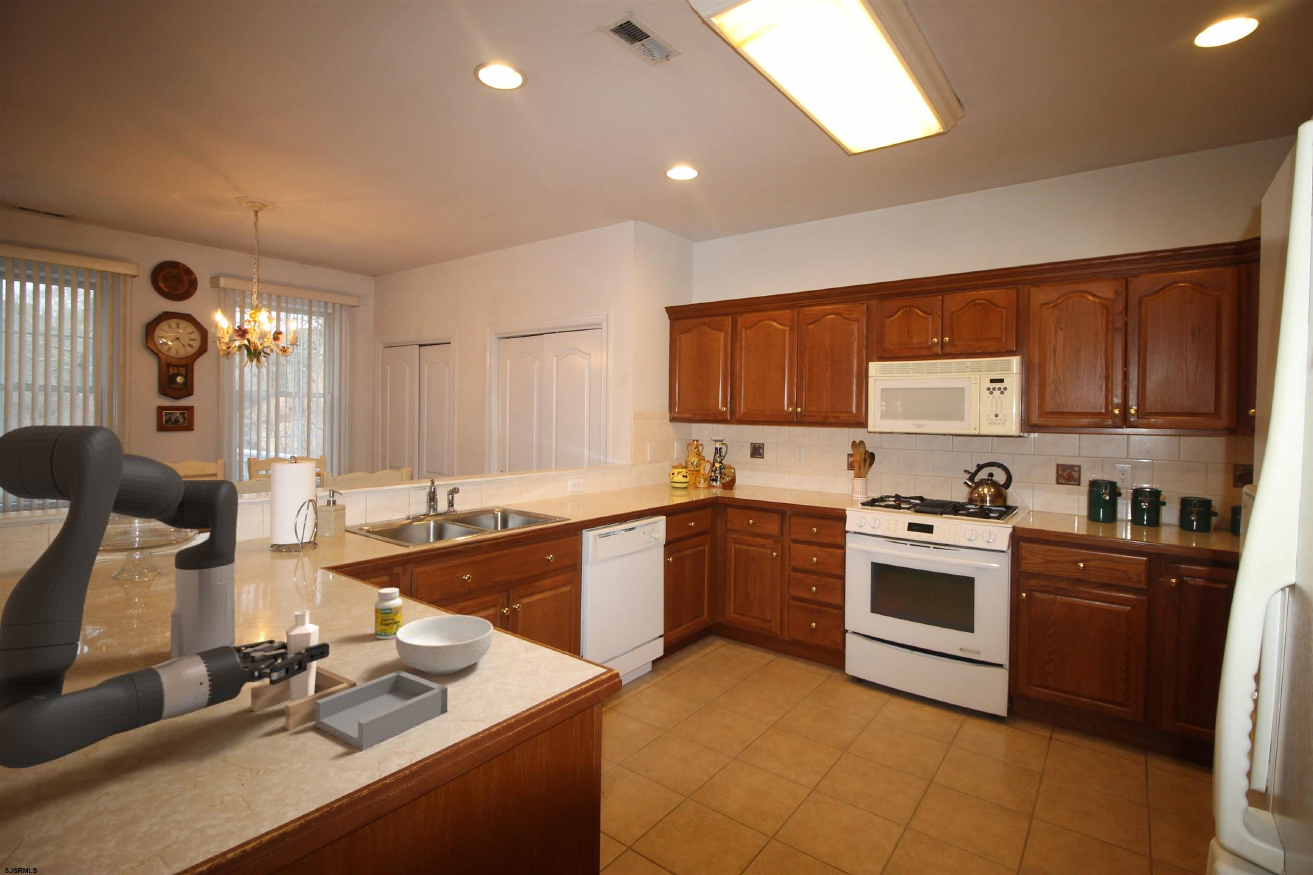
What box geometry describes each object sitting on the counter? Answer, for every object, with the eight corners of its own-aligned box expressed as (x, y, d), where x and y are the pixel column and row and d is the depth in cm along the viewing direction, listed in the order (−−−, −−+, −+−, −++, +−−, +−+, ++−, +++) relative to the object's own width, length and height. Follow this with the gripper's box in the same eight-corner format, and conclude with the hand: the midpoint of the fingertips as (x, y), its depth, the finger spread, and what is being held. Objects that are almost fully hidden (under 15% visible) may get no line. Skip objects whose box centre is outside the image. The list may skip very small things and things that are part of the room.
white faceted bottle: (293, 702, 99) (293, 608, 99) (322, 701, 100) (321, 607, 99) (278, 715, 95) (278, 616, 95) (308, 713, 95) (308, 616, 95)
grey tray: (362, 750, 85) (363, 723, 85) (315, 725, 92) (315, 700, 92) (447, 711, 97) (447, 687, 97) (399, 692, 103) (399, 670, 103)
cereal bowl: (399, 692, 103) (400, 650, 103) (391, 658, 118) (391, 621, 118) (502, 674, 111) (502, 635, 111) (482, 644, 126) (482, 610, 126)
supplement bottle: (399, 629, 134) (399, 585, 134) (404, 636, 130) (405, 591, 129) (372, 633, 131) (372, 588, 131) (376, 641, 127) (377, 594, 126)
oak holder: (289, 730, 90) (289, 706, 90) (251, 709, 96) (251, 687, 96) (356, 703, 99) (356, 682, 99) (317, 686, 105) (317, 665, 105)
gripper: (217, 666, 81) (344, 630, 95) (172, 644, 89) (295, 614, 103) (217, 723, 81) (344, 679, 95) (172, 696, 89) (295, 659, 103)
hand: (318, 645), depth 99 cm, fingers closed on white faceted bottle, 4 cm apart
